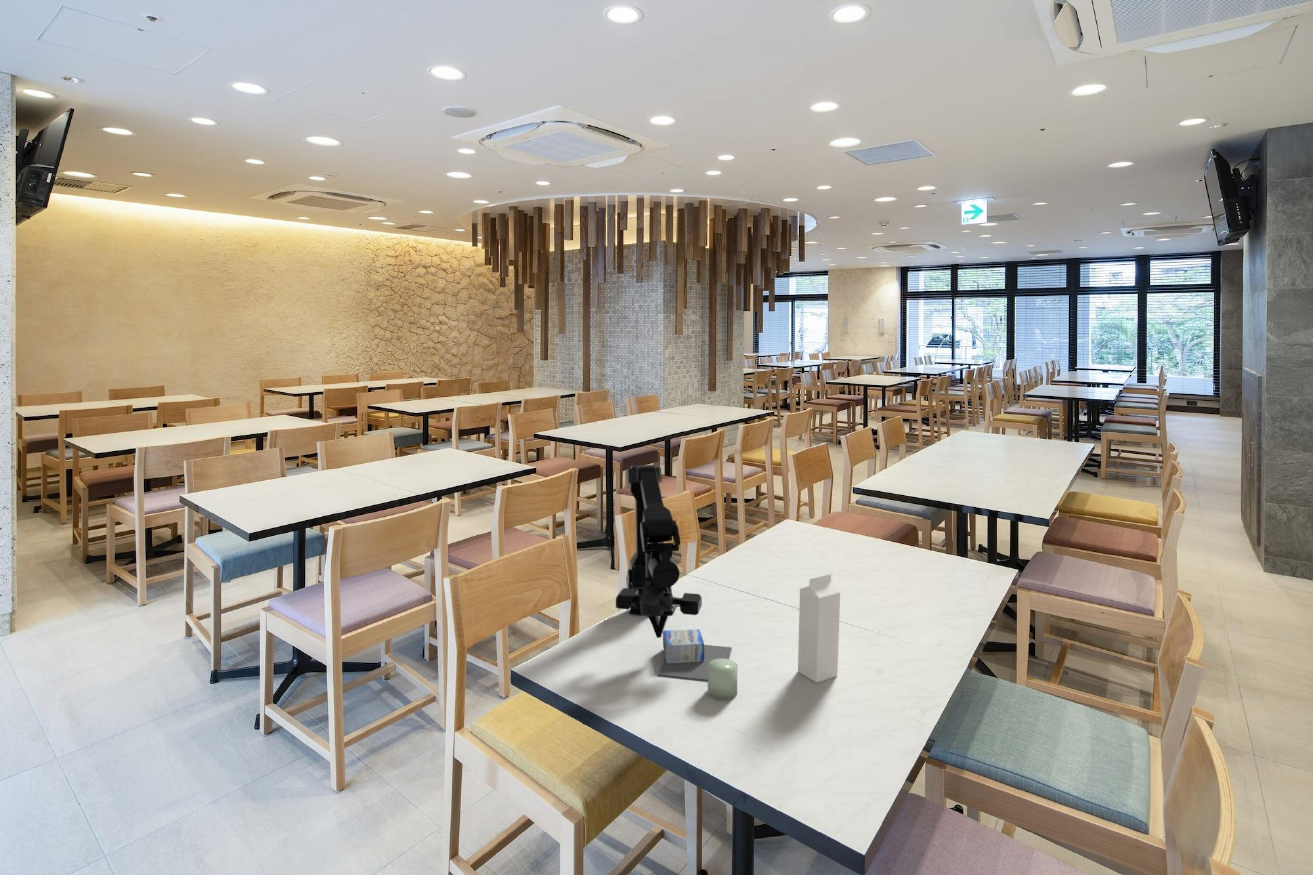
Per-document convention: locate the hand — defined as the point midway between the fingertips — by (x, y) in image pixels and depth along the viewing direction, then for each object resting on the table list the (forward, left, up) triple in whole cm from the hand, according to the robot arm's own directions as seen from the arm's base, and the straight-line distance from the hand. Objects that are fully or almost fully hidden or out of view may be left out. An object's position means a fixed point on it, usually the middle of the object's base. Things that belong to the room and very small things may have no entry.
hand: (659, 637), depth 156 cm
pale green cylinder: (+16, -12, -5) cm, 21 cm away
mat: (+9, 0, -5) cm, 10 cm away
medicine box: (+1, +1, -2) cm, 3 cm away
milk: (+35, 0, -5) cm, 35 cm away
